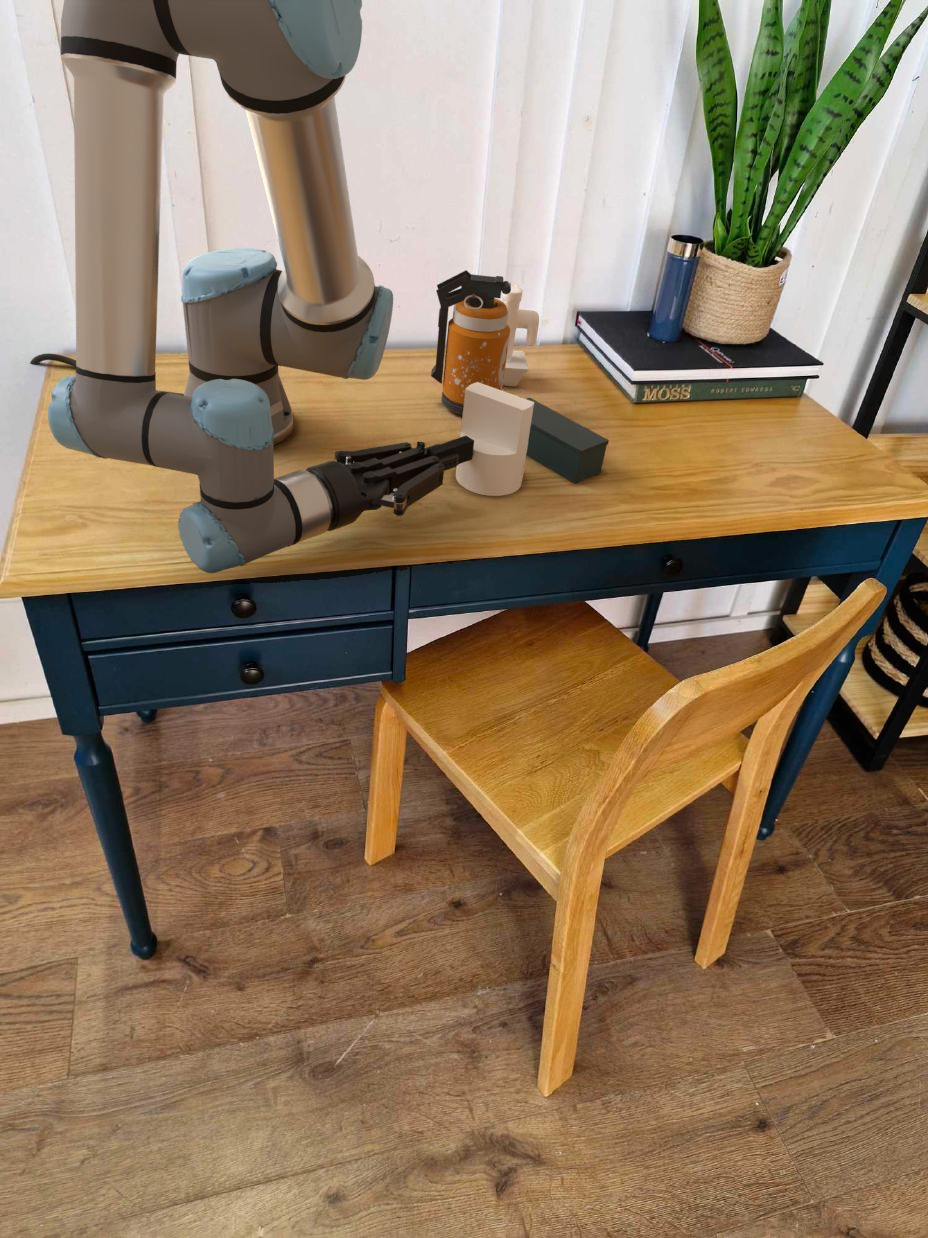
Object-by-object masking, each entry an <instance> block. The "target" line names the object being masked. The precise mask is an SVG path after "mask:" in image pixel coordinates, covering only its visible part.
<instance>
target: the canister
mask: <svg viewBox="0 0 928 1238" xmlns="http://www.w3.org/2000/svg"><path fill="white" fill-rule="evenodd" d="M511 284H512V283H511V282H509V281H508V280H504V277H503V276H502V275H496V276H491V275H481V274H472V273H470V271H468V270H467V269H465V270H464V271H461V272H459V273H458V274H456V275H453V276H452V277H450V278H448V279H446V280H444V281H442V282H440V283H438V284H436V287H437V289H436V296H437V298H438V302H439V305H440V308H439V311H438V321H437V327H438V332H437V344H436V345H437V346H436V347H437V348H436V356H435V365H434V366H433V367H432V368H431V372H430V377H431V378H433V379H434V381H435V380H436V381H437V382H438V383H439V384H441V385H442V392H441V403H442V406H443V407H445V409H447V410H449V411H450V412H453V413H456V414H458V415H461V416H463V408H464V398H465V389H466V388H467V387H468V386H469V385H471V384H473V383H476V382H479V383H482V384H484V385H487V386H490V387H493V388H496V389H498V390H501V391H503V387H504V386H503V381H504V373H505V365H506V358H507V350H508V343H509V335H510V327H509V326H508V325H507V321H508V310H507V307H506V305H505V304H504V303H503V302H504V301H502V300H500V299H501V297H502V295H503V294H509V293H510V291H511ZM452 306H453V311H452V317H451V319H449V308H450V307H452ZM448 319H449V321H448Z"/></svg>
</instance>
